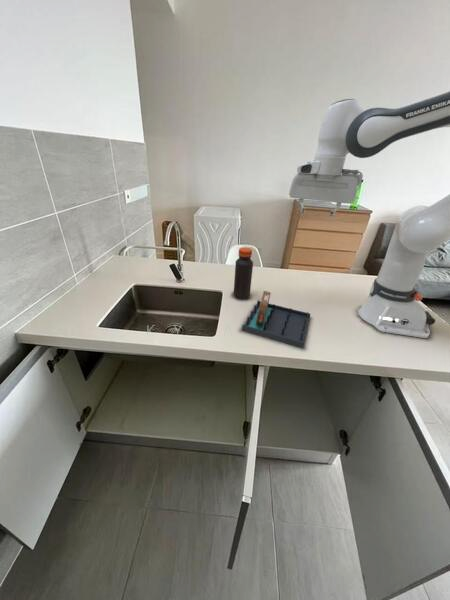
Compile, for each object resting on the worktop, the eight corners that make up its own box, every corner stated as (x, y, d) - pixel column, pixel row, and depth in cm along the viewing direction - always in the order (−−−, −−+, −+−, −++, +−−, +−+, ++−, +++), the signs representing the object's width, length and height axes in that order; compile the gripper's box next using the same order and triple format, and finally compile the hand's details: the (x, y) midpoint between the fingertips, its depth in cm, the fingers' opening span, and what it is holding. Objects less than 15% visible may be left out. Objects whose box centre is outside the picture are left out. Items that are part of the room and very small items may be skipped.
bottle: (237, 290, 105) (240, 245, 95) (252, 294, 103) (257, 248, 92) (230, 297, 100) (233, 250, 89) (246, 301, 97) (250, 253, 87)
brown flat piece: (260, 305, 93) (263, 286, 89) (268, 306, 93) (271, 287, 88) (254, 328, 81) (257, 307, 77) (263, 330, 80) (267, 309, 76)
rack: (309, 317, 89) (311, 309, 87) (302, 348, 75) (305, 338, 73) (257, 304, 95) (258, 296, 93) (241, 330, 81) (242, 321, 79)
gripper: (364, 169, 73) (350, 217, 81) (295, 165, 80) (288, 209, 87) (365, 170, 68) (350, 220, 76) (292, 166, 75) (285, 212, 82)
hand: (316, 214), depth 81 cm, fingers open, 8 cm apart
